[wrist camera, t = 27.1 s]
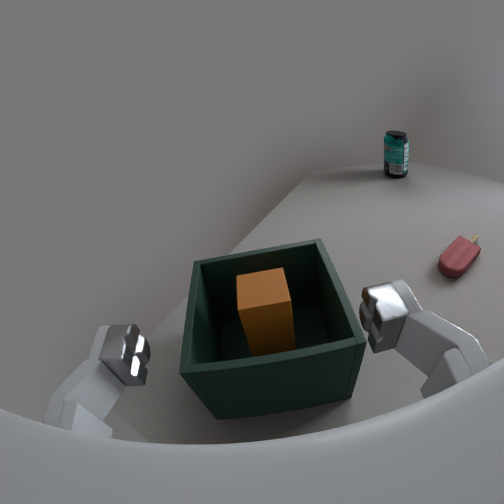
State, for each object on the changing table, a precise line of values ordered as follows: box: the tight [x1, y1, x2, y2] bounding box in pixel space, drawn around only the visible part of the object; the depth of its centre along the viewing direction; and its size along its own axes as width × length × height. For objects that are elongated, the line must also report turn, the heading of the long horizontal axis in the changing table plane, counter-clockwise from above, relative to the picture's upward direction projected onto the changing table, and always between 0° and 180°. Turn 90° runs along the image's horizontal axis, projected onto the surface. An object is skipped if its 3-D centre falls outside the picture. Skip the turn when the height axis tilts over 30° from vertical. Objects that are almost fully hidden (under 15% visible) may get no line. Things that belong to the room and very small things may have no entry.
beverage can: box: [384, 131, 409, 178], centre depth 65 cm, size 7×7×12 cm
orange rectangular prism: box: [236, 268, 296, 357], centre depth 28 cm, size 4×4×11 cm
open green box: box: [179, 239, 367, 419], centre depth 28 cm, size 15×15×11 cm
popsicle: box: [438, 235, 481, 277], centre depth 38 cm, size 5×2×15 cm
